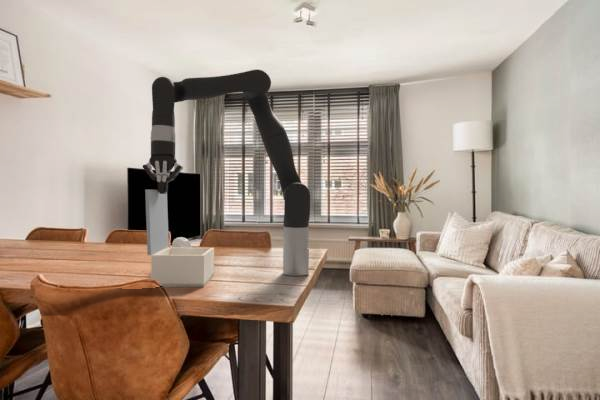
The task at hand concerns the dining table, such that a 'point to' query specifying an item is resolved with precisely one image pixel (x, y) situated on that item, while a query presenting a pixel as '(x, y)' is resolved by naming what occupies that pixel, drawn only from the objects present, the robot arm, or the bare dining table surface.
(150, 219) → the carton lid
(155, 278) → the carton
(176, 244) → the white rounded piece
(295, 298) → the dining table surface
